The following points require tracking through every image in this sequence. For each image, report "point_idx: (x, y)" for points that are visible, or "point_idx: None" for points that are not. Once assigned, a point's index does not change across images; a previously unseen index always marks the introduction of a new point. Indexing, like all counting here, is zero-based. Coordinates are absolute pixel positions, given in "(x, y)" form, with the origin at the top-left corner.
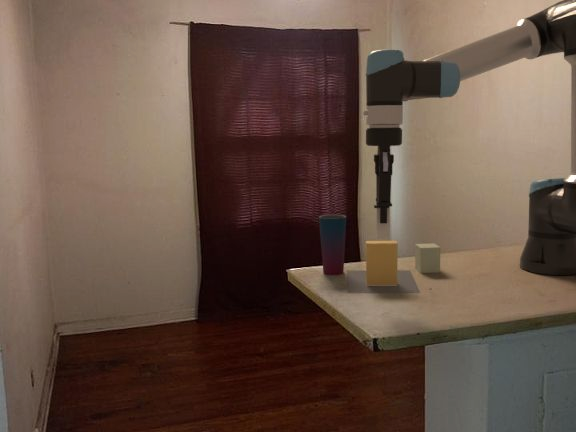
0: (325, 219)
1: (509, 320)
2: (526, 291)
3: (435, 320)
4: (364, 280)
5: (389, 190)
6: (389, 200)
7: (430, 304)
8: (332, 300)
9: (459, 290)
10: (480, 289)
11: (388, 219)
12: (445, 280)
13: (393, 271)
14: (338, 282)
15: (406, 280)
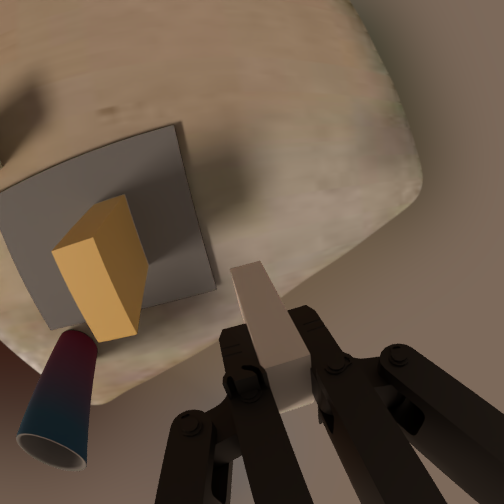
0: (86, 461)
1: None
2: None
3: (352, 89)
4: None
5: (480, 405)
6: (429, 366)
7: (248, 94)
8: None
9: (110, 42)
10: (95, 3)
11: (287, 313)
12: (28, 95)
13: (120, 215)
14: None
15: (69, 182)
